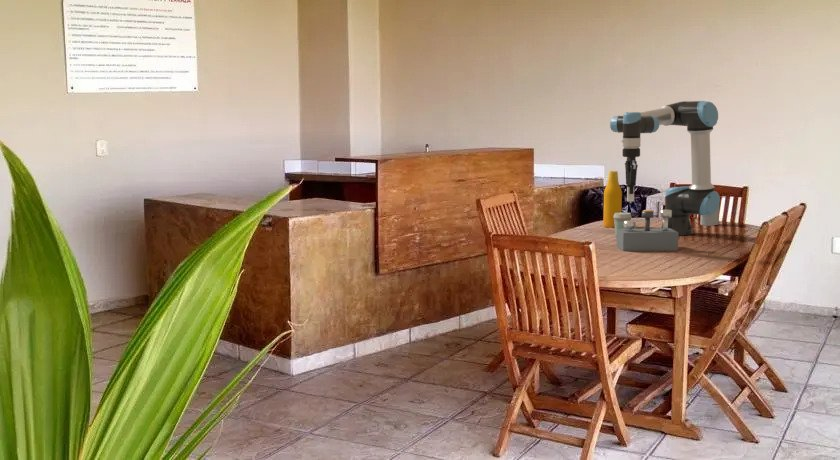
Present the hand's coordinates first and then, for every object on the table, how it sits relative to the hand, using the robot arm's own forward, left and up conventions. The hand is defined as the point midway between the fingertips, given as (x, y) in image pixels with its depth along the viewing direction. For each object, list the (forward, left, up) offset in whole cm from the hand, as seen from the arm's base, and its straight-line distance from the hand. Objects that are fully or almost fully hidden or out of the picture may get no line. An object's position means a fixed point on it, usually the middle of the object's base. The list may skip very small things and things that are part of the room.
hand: (630, 201), depth 385 cm
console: (-8, 0, -21) cm, 23 cm away
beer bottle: (-8, -69, -21) cm, 73 cm away
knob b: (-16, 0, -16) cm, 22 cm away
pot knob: (-8, 0, -16) cm, 17 cm away
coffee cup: (-4, -30, -21) cm, 37 cm away
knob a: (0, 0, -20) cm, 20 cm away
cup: (-60, -72, -21) cm, 96 cm away
